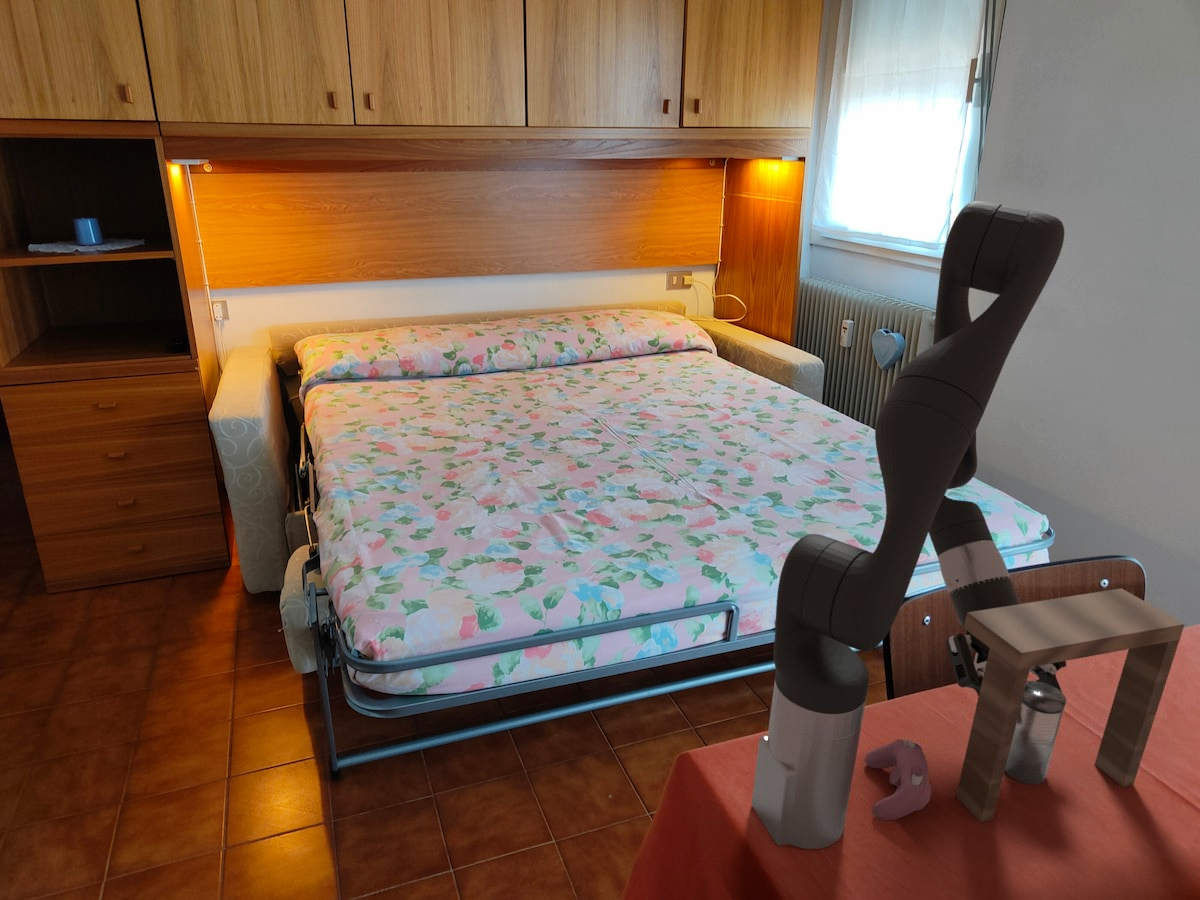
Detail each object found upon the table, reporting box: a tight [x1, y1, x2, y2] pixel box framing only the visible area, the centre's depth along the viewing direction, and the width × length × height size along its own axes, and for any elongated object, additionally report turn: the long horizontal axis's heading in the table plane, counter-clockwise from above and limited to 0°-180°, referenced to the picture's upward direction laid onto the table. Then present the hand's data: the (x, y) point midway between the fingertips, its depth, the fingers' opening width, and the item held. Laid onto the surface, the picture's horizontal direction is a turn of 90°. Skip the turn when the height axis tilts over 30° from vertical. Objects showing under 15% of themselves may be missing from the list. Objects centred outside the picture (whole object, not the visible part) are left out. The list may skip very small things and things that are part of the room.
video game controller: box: [864, 738, 932, 821], centre depth 94 cm, size 10×5×7 cm, turn 169°
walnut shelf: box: [955, 588, 1185, 823], centre depth 94 cm, size 22×8×22 cm, turn 107°
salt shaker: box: [1004, 680, 1067, 785], centre depth 97 cm, size 5×5×11 cm
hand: (1028, 714), depth 98 cm, fingers open, 8 cm apart
